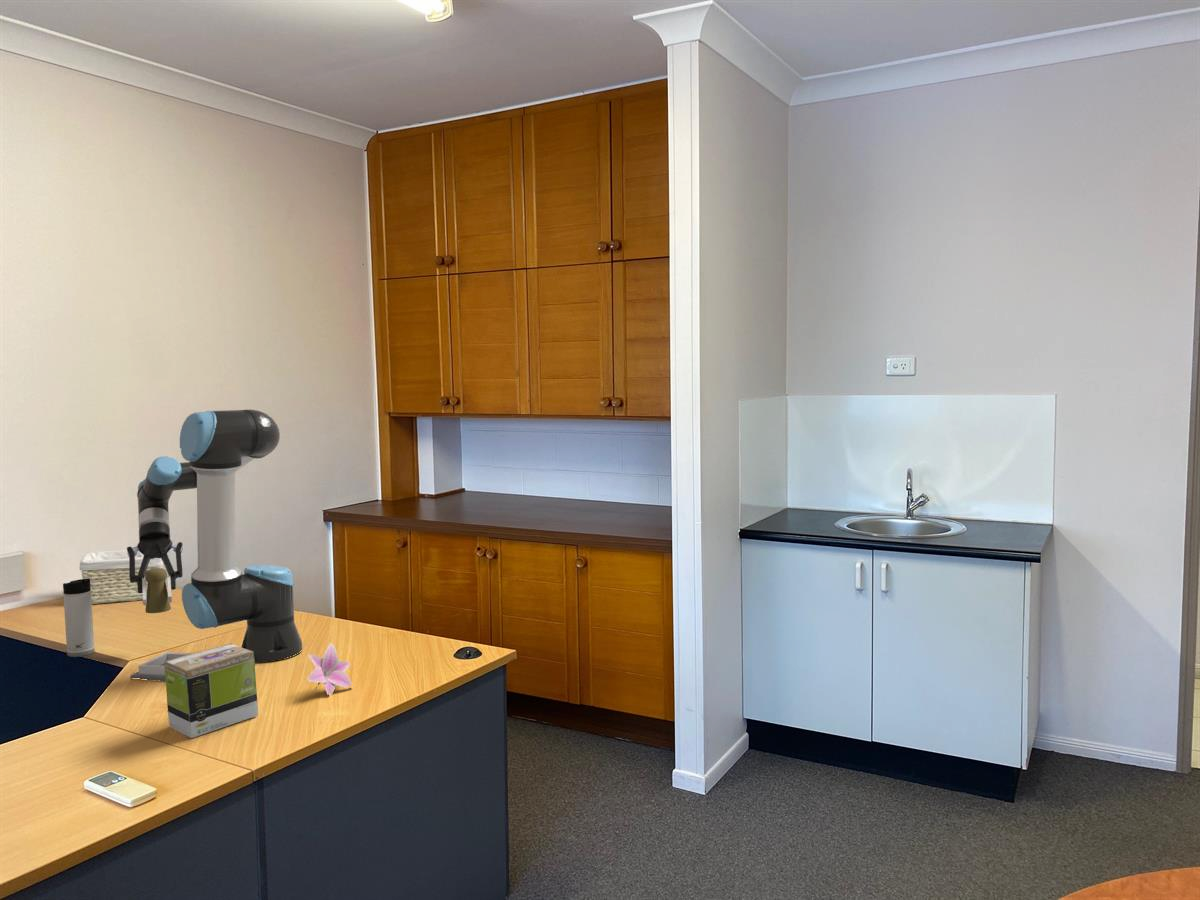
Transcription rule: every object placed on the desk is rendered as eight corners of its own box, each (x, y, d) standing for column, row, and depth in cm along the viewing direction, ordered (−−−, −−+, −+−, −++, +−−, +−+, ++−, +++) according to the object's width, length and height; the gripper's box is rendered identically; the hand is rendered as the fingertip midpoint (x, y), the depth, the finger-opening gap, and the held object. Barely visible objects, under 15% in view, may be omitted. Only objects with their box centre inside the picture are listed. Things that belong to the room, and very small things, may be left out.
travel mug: (83, 658, 231) (78, 582, 229) (61, 656, 232) (56, 581, 230) (101, 650, 237) (96, 576, 235) (79, 648, 238) (75, 575, 236)
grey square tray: (211, 664, 225) (211, 652, 225) (179, 682, 212) (178, 670, 212) (165, 661, 227) (165, 650, 227) (130, 679, 215) (130, 667, 214)
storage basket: (168, 588, 304) (165, 545, 302) (164, 599, 289) (162, 555, 287) (88, 595, 294) (85, 551, 293) (80, 607, 280) (77, 561, 278)
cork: (175, 606, 236) (172, 566, 235) (164, 613, 230) (162, 571, 229) (151, 607, 236) (149, 566, 235) (141, 613, 230) (138, 571, 229)
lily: (298, 706, 200) (314, 673, 197) (290, 672, 209) (306, 639, 207) (348, 710, 207) (365, 678, 204) (339, 677, 216) (354, 646, 213)
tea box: (235, 706, 198) (232, 641, 196) (259, 717, 191) (256, 650, 190) (167, 727, 186) (163, 659, 185) (190, 740, 180) (186, 669, 178)
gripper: (191, 533, 249) (196, 604, 236) (117, 539, 241) (118, 613, 228) (190, 517, 244) (195, 588, 230) (115, 523, 236) (116, 597, 222)
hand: (157, 600), depth 229 cm, fingers closed on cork, 5 cm apart
